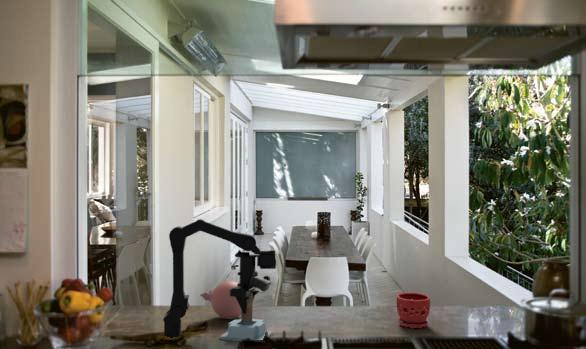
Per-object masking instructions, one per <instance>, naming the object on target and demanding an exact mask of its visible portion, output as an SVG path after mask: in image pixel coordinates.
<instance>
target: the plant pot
mask: <svg viewBox="0 0 586 349" xmlns="http://www.w3.org/2000/svg"><path fill="white" fill-rule="evenodd" d="M395 302H396V310H397V314H398V317H399V318H398V319H397V322H398V324H399V325H400V326H402V327H404V326H405V327H404V328H407V327H410V328H409V329H414V328H419V329H423V328H422V327H424V328H426V327H427V326H428V324H429V322H428V320H427V319H428V317H429V314H430V311H431V297H430V296H429V295H428V294H423V293H419V292H418V293H417V292H401V293H399V294H396V300H395Z"/></svg>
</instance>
